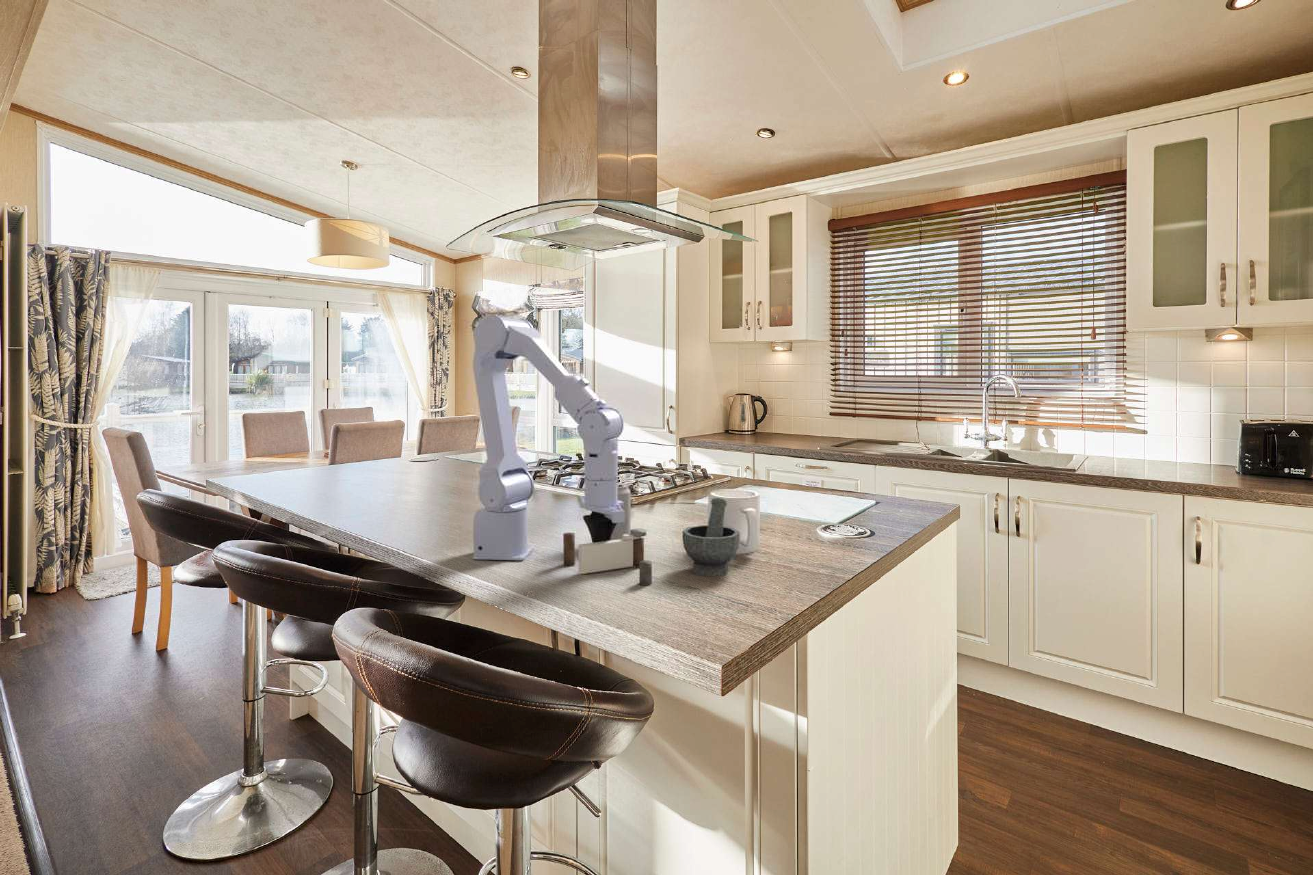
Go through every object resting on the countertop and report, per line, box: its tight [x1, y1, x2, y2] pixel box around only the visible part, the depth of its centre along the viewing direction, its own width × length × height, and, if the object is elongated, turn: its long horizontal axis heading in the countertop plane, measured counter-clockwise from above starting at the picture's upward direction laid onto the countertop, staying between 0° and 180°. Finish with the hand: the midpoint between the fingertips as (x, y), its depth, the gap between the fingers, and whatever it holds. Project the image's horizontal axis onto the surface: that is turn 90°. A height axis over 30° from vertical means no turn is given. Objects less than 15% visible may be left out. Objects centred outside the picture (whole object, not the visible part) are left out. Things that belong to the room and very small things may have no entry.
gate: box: [577, 528, 647, 575], centre depth 110 cm, size 12×3×6 cm, turn 118°
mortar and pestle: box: [682, 498, 740, 577], centre depth 111 cm, size 11×9×12 cm
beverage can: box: [610, 482, 632, 540], centre depth 127 cm, size 6×6×12 cm
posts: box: [562, 532, 653, 586], centre depth 108 cm, size 16×12×6 cm
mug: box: [707, 488, 761, 555], centre depth 124 cm, size 14×10×11 cm
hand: (601, 554), depth 111 cm, fingers closed
